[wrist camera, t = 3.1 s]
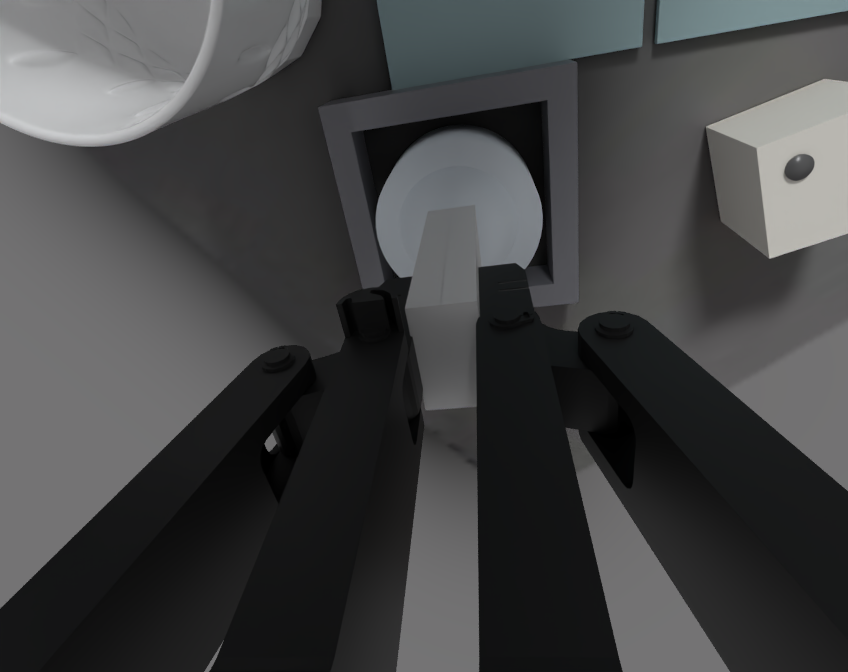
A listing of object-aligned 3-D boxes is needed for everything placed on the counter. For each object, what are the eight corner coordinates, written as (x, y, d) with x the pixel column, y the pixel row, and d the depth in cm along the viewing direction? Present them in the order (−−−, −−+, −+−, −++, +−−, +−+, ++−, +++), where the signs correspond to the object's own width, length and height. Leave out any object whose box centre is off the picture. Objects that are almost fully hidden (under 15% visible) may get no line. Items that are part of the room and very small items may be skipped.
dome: (373, 137, 20) (348, 165, 16) (529, 112, 19) (545, 135, 15) (401, 277, 23) (386, 330, 19) (537, 260, 22) (552, 313, 18)
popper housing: (330, 100, 20) (317, 107, 18) (567, 58, 18) (577, 62, 17) (378, 303, 24) (371, 324, 22) (570, 282, 23) (578, 302, 21)
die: (705, 126, 19) (758, 148, 16) (824, 78, 18) (909, 90, 14) (720, 221, 21) (770, 259, 17) (829, 182, 20) (906, 216, 16)
